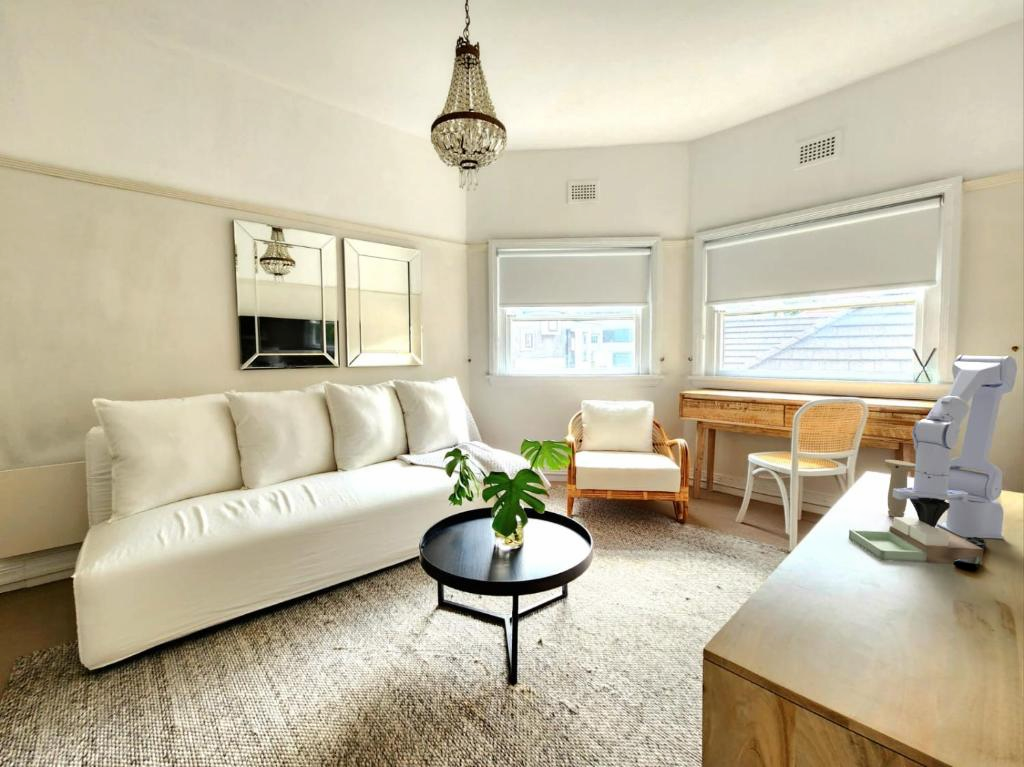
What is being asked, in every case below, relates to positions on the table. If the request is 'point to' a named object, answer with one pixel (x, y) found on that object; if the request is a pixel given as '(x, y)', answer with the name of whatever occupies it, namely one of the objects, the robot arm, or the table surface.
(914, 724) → the table surface
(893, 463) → the handle
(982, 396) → the robot arm
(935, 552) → the board
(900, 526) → the tile
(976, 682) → the table surface
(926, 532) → the tile
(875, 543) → the tray
